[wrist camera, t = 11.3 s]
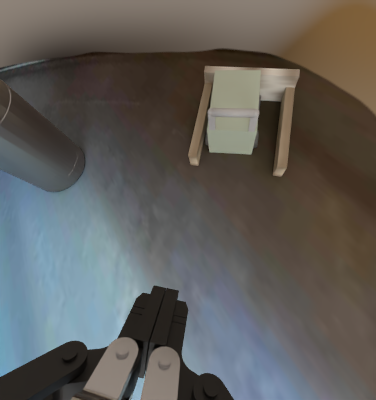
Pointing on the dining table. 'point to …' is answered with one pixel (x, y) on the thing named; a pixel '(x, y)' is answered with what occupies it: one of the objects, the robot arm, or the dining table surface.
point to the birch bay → (269, 90)
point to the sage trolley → (234, 112)
